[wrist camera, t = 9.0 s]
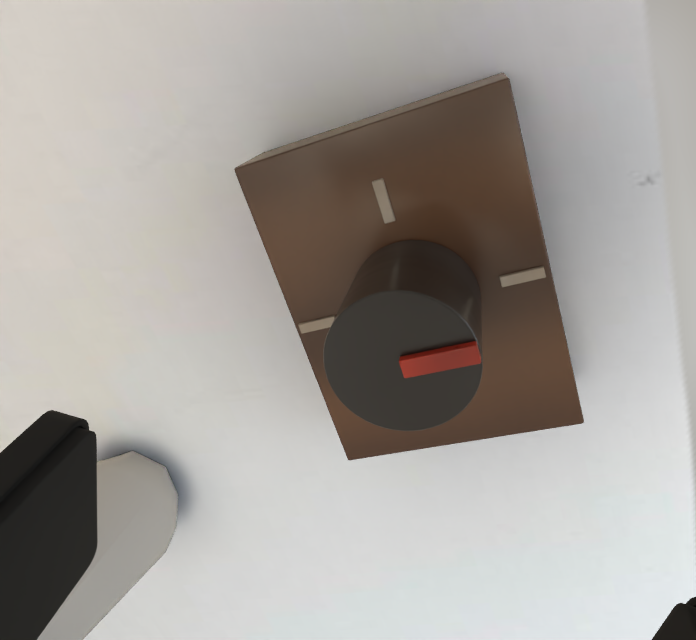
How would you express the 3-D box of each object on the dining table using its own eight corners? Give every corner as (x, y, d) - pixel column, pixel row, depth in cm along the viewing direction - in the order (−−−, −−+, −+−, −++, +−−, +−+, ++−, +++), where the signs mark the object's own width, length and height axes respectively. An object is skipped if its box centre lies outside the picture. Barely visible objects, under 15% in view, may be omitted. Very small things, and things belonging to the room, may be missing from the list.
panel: (261, 153, 23) (231, 169, 20) (504, 71, 20) (509, 77, 17) (360, 418, 27) (347, 463, 24) (572, 380, 24) (585, 426, 21)
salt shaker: (170, 431, 29) (-31, 692, 18) (209, 523, 31) (53, 810, 20) (69, 443, 31) (-176, 689, 19) (113, 530, 33) (-84, 799, 21)
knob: (373, 369, 22) (349, 449, 18) (334, 258, 20) (297, 316, 16) (494, 344, 21) (499, 424, 16) (462, 223, 19) (459, 277, 15)
